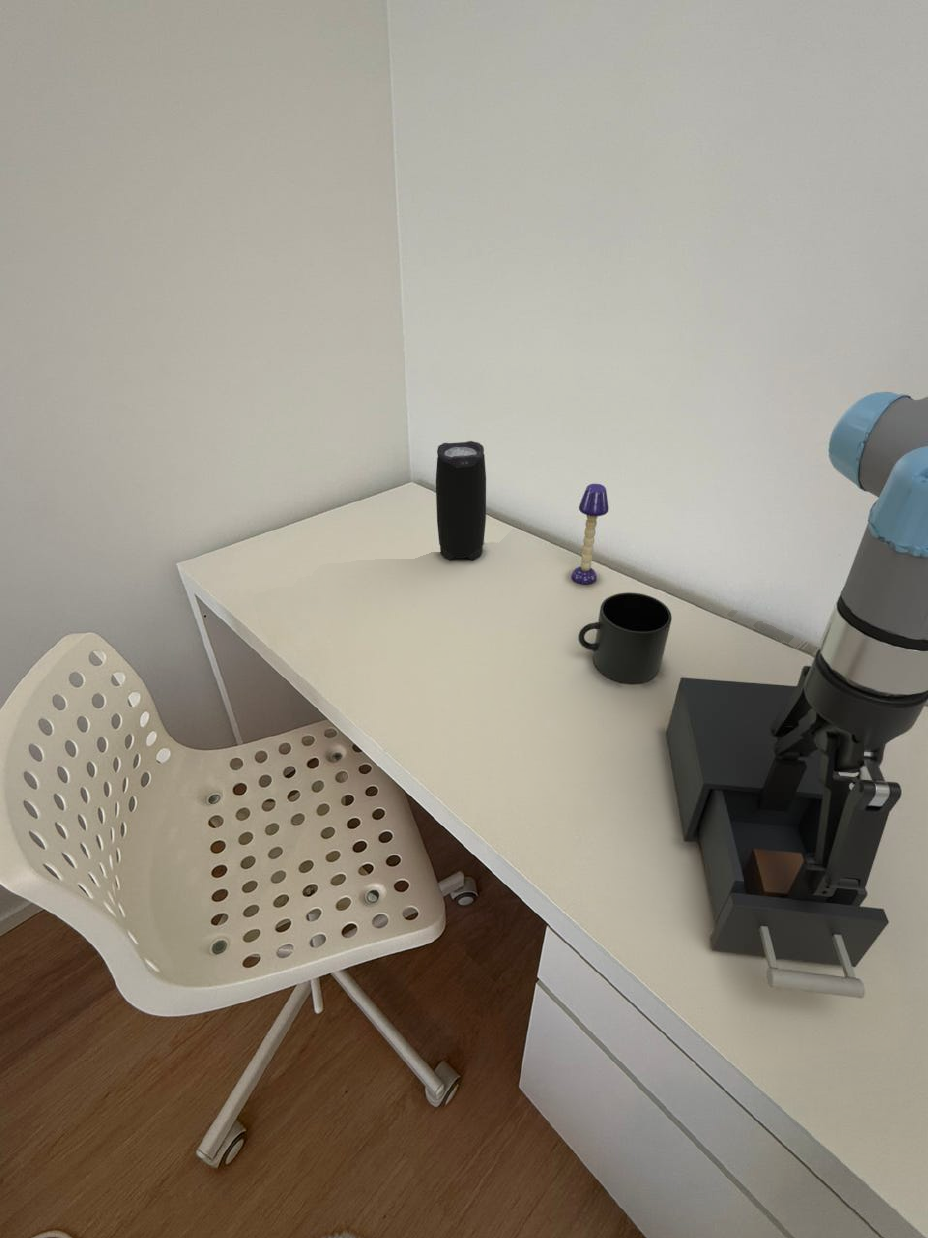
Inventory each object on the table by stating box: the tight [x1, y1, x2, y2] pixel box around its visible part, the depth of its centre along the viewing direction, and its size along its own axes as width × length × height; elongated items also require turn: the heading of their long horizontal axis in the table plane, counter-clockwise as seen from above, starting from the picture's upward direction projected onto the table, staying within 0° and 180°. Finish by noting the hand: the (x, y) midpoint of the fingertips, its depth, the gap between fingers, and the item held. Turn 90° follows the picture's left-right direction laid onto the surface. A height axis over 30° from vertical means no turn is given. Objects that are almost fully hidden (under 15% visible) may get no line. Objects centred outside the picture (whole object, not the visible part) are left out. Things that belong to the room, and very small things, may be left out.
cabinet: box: [665, 676, 841, 843], centre depth 72 cm, size 16×14×10 cm
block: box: [742, 849, 804, 898], centre depth 61 cm, size 4×4×4 cm
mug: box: [577, 591, 673, 685], centre depth 90 cm, size 9×12×9 cm
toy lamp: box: [571, 483, 609, 585], centre depth 105 cm, size 5×5×17 cm
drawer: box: [697, 789, 890, 999], centre depth 60 cm, size 19×12×8 cm, turn 173°
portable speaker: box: [435, 440, 487, 561], centre depth 112 cm, size 9×9×20 cm
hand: (786, 852), depth 60 cm, fingers open, 9 cm apart
